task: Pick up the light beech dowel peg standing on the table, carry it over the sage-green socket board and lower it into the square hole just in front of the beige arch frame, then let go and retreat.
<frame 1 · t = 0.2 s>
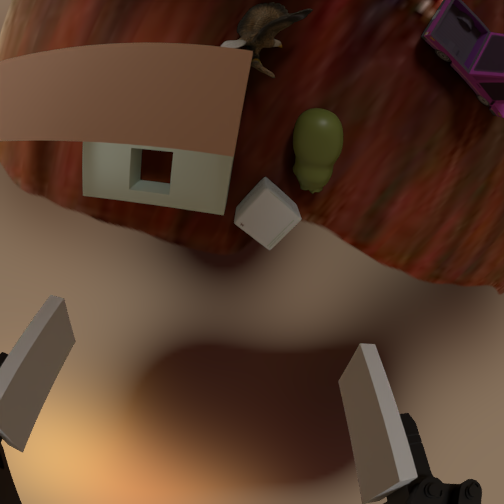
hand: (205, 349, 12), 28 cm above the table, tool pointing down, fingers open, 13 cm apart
beige arch frame: (163, 131, 34), resting on socket board
small box: (266, 205, 39), on the table
toy truck: (467, 56, 27), on the table
pear: (312, 147, 35), on the table
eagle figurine: (265, 37, 29), on the table
socket board: (163, 131, 34), on the table
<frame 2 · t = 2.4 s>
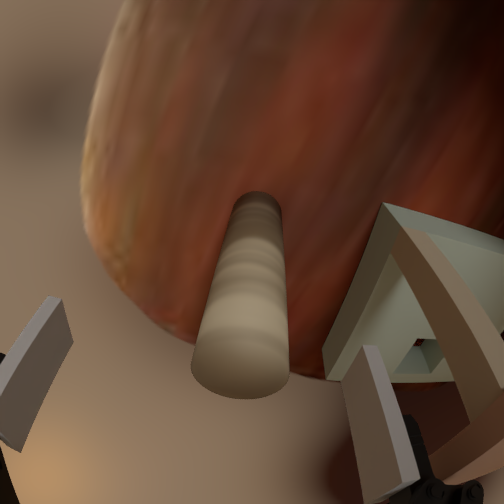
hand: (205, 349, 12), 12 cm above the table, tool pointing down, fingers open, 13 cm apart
peg: (256, 214, 23), on the table
beige arch frame: (430, 299, 26), resting on socket board
socket board: (430, 299, 26), on the table
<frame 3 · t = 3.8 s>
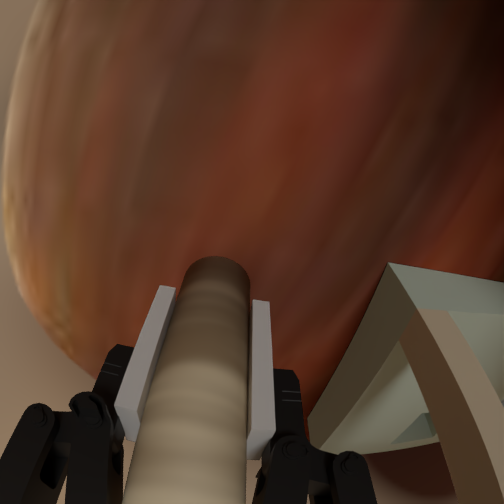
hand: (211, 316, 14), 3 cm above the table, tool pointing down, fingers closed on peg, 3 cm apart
peg: (216, 285, 17), on the table, touching gripper
beige arch frame: (437, 361, 20), resting on socket board
socket board: (437, 361, 20), on the table
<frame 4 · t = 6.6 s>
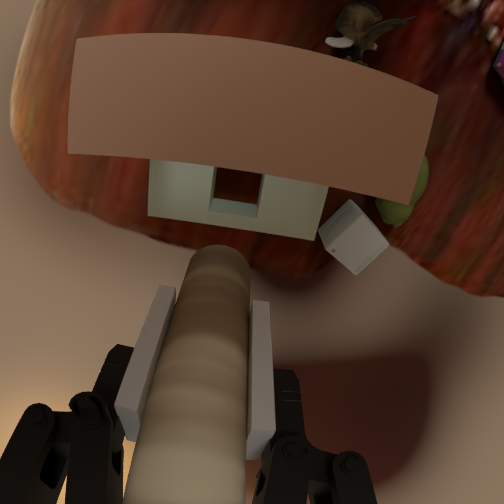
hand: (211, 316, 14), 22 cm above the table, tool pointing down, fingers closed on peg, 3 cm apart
peg: (219, 272, 18), point 18 cm above the table, touching gripper
beige arch frame: (243, 145, 32), resting on socket board
small box: (347, 227, 37), on the table
pear: (392, 179, 34), on the table
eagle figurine: (359, 37, 25), on the table
socket board: (243, 145, 32), on the table
when the fingers open (5 cm above the table, at t = 9.2 s): peg stays where it is, resting in socket board.
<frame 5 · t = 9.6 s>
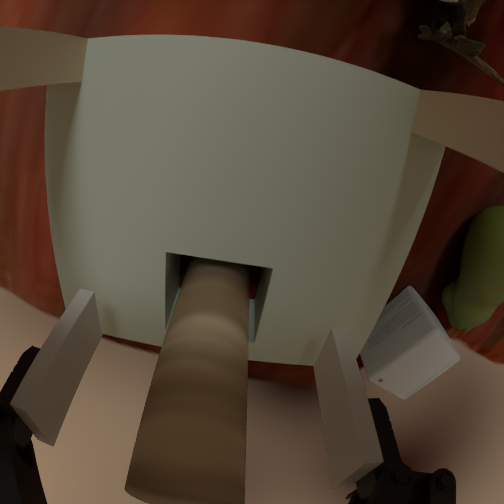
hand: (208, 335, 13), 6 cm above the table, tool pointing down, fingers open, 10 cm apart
peg: (220, 261, 19), resting in socket board
beige arch frame: (229, 199, 17), resting on socket board
small box: (396, 322, 22), on the table
pear: (469, 256, 19), on the table
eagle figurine: (442, 0, 10), on the table
socket board: (229, 199, 17), on the table
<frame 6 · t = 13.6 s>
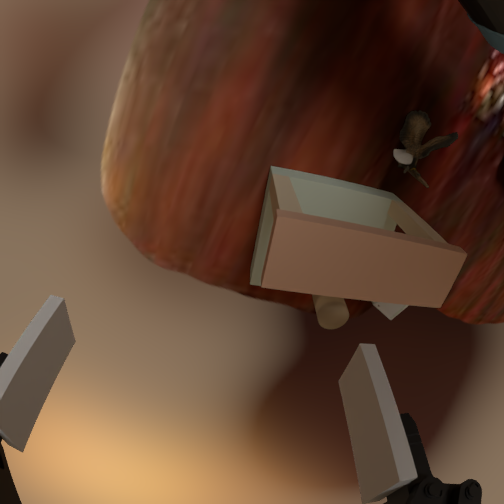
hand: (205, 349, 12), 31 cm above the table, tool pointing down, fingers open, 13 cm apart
peg: (314, 255, 46), resting in socket board
beige arch frame: (321, 231, 44), resting on socket board
small box: (385, 284, 49), on the table
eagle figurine: (412, 141, 37), on the table
socket board: (321, 231, 44), on the table
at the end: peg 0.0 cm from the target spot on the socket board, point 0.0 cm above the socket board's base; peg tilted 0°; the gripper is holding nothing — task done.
